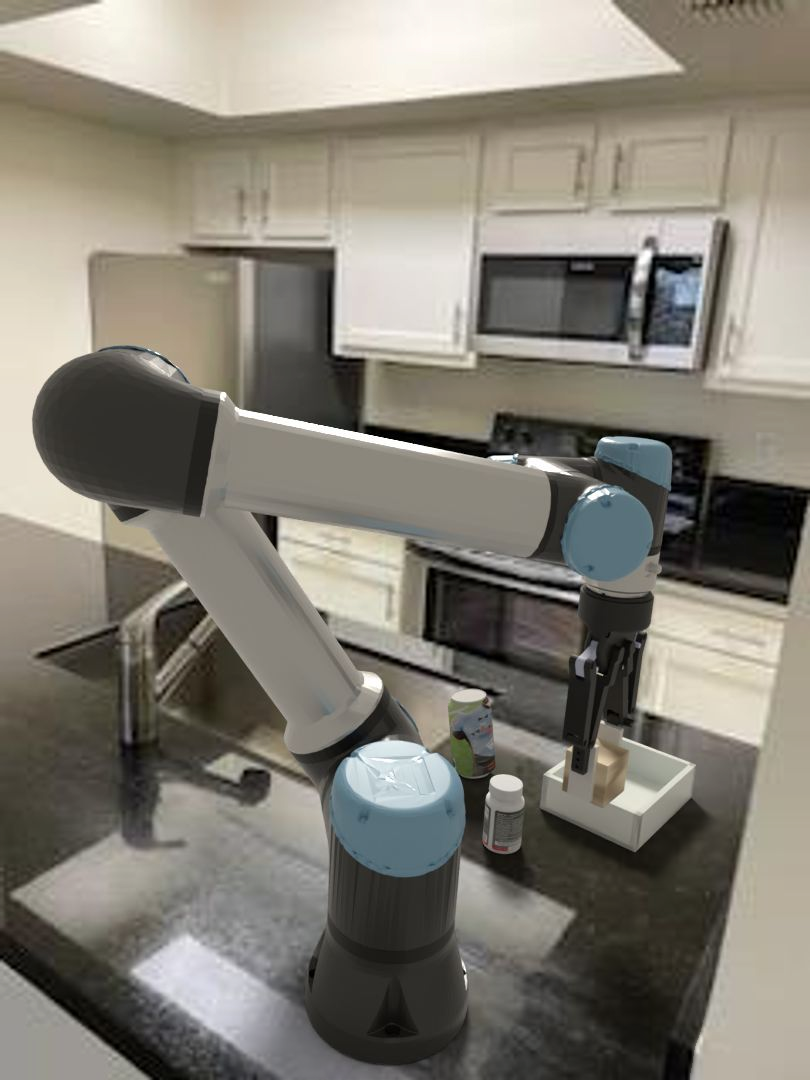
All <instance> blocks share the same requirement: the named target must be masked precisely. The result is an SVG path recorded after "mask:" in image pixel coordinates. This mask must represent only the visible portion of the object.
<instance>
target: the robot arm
mask: <svg viewBox="0 0 810 1080" xmlns="http://www.w3.org/2000/svg"><path fill="white" fill-rule="evenodd" d="M31 424H32V425H31V426H32V427H31V429H32V436H33V440H34V444H35V447H36V451H37V452H38V454H39V456H40V459H41V461H42V463H43V465H44V466H45V468H46V469H48V471H49V473H50V474H52V476H54V477H55V478H56V480H58V482H59V483H61V484H62V485H63V486H64V487H66V488H68V489H69V490H71V491H72V492H74V493H76V494H78V495H79V496H80V495H81V496H82V497H84V498H87V499H90V500H92V501H96V502H100V503H105V504H106V505H107V506H108V507H109V508H110V511H112V513H113V514H114V515H115V517H116V518H117V519H118V521H119V523H121V524H122V525H124V526H130V527H135V528H141V529H144V530H146V531H147V532H149V534H150V535H151V536H152V538H153V539H154V540H155V542H156V543H157V545H158V546H159V547H160V548H161V551H163V552H164V554H165V555H166V557H167V558H168V560H169V561H170V562H171V564H172V565H173V567H174V568H175V570H177V572H178V573H179V574H180V576H181V578H182V579H183V580H184V582H185V583H186V584H187V586H188V587H189V588H190V590H191V591H192V592H193V594H194V596H195V597H196V598H197V599H198V601H199V603H201V605H202V606H203V608H204V609H205V610H206V612H207V613H208V614H209V616H210V617H211V619H212V620H213V621H214V623H215V625H216V626H217V627H218V629H220V631H221V632H222V634H223V635H224V637H225V638H226V639H227V640H228V642H229V643H230V645H231V646H232V647H233V649H234V650H235V652H236V653H237V655H238V656H239V657H240V658H241V660H242V661H243V663H244V664H245V665H246V667H247V668H248V670H250V671H249V672H251V673H252V675H253V677H254V678H255V679H256V680H257V682H258V683H259V685H260V686H261V687H262V689H263V690H264V692H265V693H266V695H267V697H269V699H271V701H272V703H273V704H274V705H275V707H277V709H278V711H279V712H280V714H281V715H282V716H283V717H284V719H285V720H286V727H285V729H284V730H285V731H284V734H283V735H284V736H283V742H284V745H285V746H286V748H287V749H288V750H289V752H290V754H292V756H293V757H294V760H295V761H296V762H297V763H298V765H299V766H300V768H301V769H302V770H303V772H304V773H305V774H306V775H307V777H308V778H309V779H310V781H311V782H312V784H313V786H314V787H315V789H316V790H317V792H318V795H319V801H320V805H321V812H322V816H323V822H324V828H325V833H326V839H327V845H328V846H327V847H328V887H327V911H326V912H327V914H326V916H327V917H326V921H325V925H324V927H323V929H322V932H321V934H320V937H319V939H318V941H317V944H316V946H315V948H314V951H313V952H312V953H313V954H312V956H311V958H310V961H309V962H308V966H307V971H306V976H305V994H304V996H305V998H304V999H305V1000H304V1001H305V1002H304V1003H305V1009H306V1013H307V1016H308V1018H309V1021H310V1023H311V1025H312V1027H313V1028H314V1030H315V1032H316V1033H317V1034H318V1035H319V1037H321V1038H322V1040H324V1041H325V1042H326V1043H327V1044H328V1045H329V1046H330V1047H332V1048H334V1050H336V1051H338V1052H340V1053H341V1054H344V1055H345V1056H348V1057H350V1058H353V1059H355V1060H358V1061H362V1062H365V1063H371V1064H376V1065H377V1064H378V1065H400V1064H401V1065H402V1064H409V1063H412V1062H417V1061H420V1060H424V1059H426V1058H428V1057H430V1056H432V1055H434V1054H435V1053H438V1052H439V1051H441V1050H442V1049H444V1048H445V1047H446V1046H448V1045H449V1043H451V1042H452V1041H453V1040H454V1039H455V1037H456V1036H457V1035H458V1033H459V1032H460V1030H461V1028H462V1026H463V1025H464V1022H465V1019H466V1017H467V1013H468V1012H467V1011H468V1010H467V1009H468V1001H469V989H470V988H469V977H468V973H467V969H466V966H465V962H464V960H463V958H462V956H461V953H460V949H459V947H460V946H459V943H458V937H457V934H456V930H455V927H456V925H455V924H456V913H457V912H456V911H457V904H458V903H457V902H458V901H457V900H458V892H459V891H458V890H459V879H460V878H459V877H460V868H461V856H462V855H461V854H462V845H463V835H465V834H464V832H465V827H466V813H467V811H466V804H465V793H464V786H463V783H462V780H461V777H460V776H459V775H460V774H458V773H457V772H456V770H455V769H454V767H453V764H451V763H450V761H449V760H447V759H446V758H445V757H444V756H442V755H441V754H439V753H438V752H433V753H431V752H430V750H429V747H426V746H425V745H424V743H423V740H422V738H421V735H420V733H419V729H418V726H417V723H416V721H415V719H414V717H413V716H412V715H411V714H410V713H411V712H409V711H408V709H407V708H406V707H405V706H403V705H402V703H401V702H400V701H399V700H397V699H396V698H395V697H394V696H393V695H392V693H391V692H390V691H389V690H390V689H388V687H387V686H386V684H385V683H384V682H383V680H382V678H381V677H379V675H378V674H376V673H374V672H372V671H366V670H365V671H363V670H358V669H357V668H356V667H355V665H354V663H353V662H352V661H351V659H350V657H349V656H348V655H347V653H346V652H345V650H344V649H343V647H342V645H341V644H340V643H339V642H338V639H337V638H336V637H335V634H333V633H332V631H331V630H330V627H328V625H327V624H326V622H325V621H324V619H323V618H322V616H321V615H320V613H319V612H318V610H317V608H316V607H315V606H314V604H313V602H311V600H310V598H309V597H308V595H307V594H306V593H305V591H304V590H303V588H302V587H301V585H300V584H299V581H298V580H297V579H296V578H295V576H294V575H293V573H292V572H291V570H290V569H289V567H288V565H287V564H286V563H285V562H284V560H283V558H282V556H280V553H278V550H277V549H276V548H275V546H274V545H273V543H272V542H271V540H270V539H269V537H268V536H267V534H266V533H265V531H264V530H263V528H262V527H261V526H260V524H259V523H258V521H257V520H256V518H255V517H254V516H253V514H252V513H255V514H261V515H267V516H268V515H269V516H272V517H280V518H286V519H289V520H290V519H291V520H295V521H296V520H298V521H303V522H309V523H316V524H320V525H326V526H332V527H333V526H334V527H338V528H339V527H340V528H346V529H349V530H350V529H351V530H358V531H363V532H368V533H369V532H370V533H375V534H382V535H386V536H393V537H399V538H405V539H411V540H419V541H423V542H430V543H435V544H440V545H447V546H453V547H461V548H465V549H470V550H471V549H472V550H477V551H482V552H483V551H485V552H489V553H495V554H500V555H501V554H503V555H507V556H512V557H513V556H514V557H519V558H526V559H530V560H534V561H540V562H545V563H550V564H557V565H562V566H567V567H568V568H569V569H570V570H572V571H573V572H575V573H576V574H577V575H578V576H581V579H582V581H583V582H584V583H583V584H582V585H581V586H580V590H579V591H580V592H579V600H578V609H577V616H578V619H579V620H580V621H581V622H582V623H584V624H585V625H586V627H587V628H588V632H587V634H586V635H587V636H586V639H585V642H584V648H583V652H582V653H581V654H580V655H578V654H575V653H572V654H571V655H570V656H569V658H568V670H569V679H568V687H567V689H568V690H567V694H566V706H565V711H564V719H563V720H564V721H563V727H562V728H563V729H562V737H561V740H562V741H563V742H565V743H568V744H570V745H573V747H572V755H571V763H570V772H569V780H568V788H567V793H568V794H570V795H573V796H575V797H577V798H579V799H582V800H584V801H586V802H588V803H589V802H591V801H592V799H593V791H594V783H595V775H596V767H597V761H598V753H599V745H597V744H595V743H596V739H597V738H599V739H601V740H604V741H607V742H609V743H612V744H614V745H617V746H620V747H621V745H622V737H624V729H625V728H628V729H631V728H632V727H633V725H634V723H635V720H634V719H632V718H629V716H633V715H634V714H635V713H636V707H637V700H638V693H639V686H640V685H639V684H640V676H641V670H642V663H643V657H644V655H643V654H644V650H645V647H646V643H647V639H648V632H646V631H645V630H647V629H648V628H649V627H650V626H651V622H652V617H653V616H652V615H653V608H654V603H655V602H654V600H655V596H654V594H653V592H652V591H653V590H654V589H655V588H656V585H657V584H656V583H657V577H658V576H657V575H659V574H660V573H661V572H662V570H663V568H662V565H661V564H660V563H659V561H660V555H661V547H662V543H663V535H664V528H665V522H666V521H665V520H666V515H667V509H668V507H667V506H668V501H669V494H670V492H671V491H672V485H671V483H672V471H673V464H672V462H673V454H672V453H673V451H672V450H671V448H670V446H669V445H667V444H666V443H664V442H662V441H660V440H656V439H655V440H654V439H649V438H644V437H643V438H642V437H633V436H619V435H618V436H605V437H604V436H603V437H602V438H601V439H600V440H599V441H598V442H597V445H596V449H595V451H594V455H593V456H587V457H564V456H563V457H561V456H542V455H541V456H539V455H522V454H521V455H520V454H519V453H514V454H513V455H491V456H488V457H486V458H484V457H479V456H475V455H469V454H464V453H461V452H459V453H458V452H454V451H450V450H444V449H439V448H434V447H429V446H424V445H419V444H415V443H414V444H413V443H410V442H405V441H399V440H394V439H389V438H384V437H379V436H374V435H369V434H366V433H365V434H364V433H360V432H355V431H350V430H344V429H339V428H334V427H330V426H324V425H320V424H319V425H318V424H315V423H308V422H305V421H300V420H295V419H289V418H285V417H280V416H273V415H270V414H265V413H259V412H254V411H250V410H245V409H240V408H238V407H237V406H236V404H235V403H234V402H233V401H232V399H231V398H230V397H229V396H228V394H227V392H224V391H221V390H215V389H210V388H204V387H200V386H197V385H193V384H191V381H190V380H189V379H188V377H187V376H186V375H185V373H184V372H183V371H182V370H181V368H180V367H178V366H177V365H175V364H174V363H173V362H172V361H171V359H168V358H166V357H165V356H163V355H162V354H160V353H159V352H156V351H153V350H151V349H148V348H147V347H146V348H145V347H142V346H137V345H128V344H122V345H111V346H107V347H102V348H100V349H98V350H97V351H94V352H91V353H87V354H83V355H80V356H77V357H75V358H73V359H71V360H69V361H67V362H65V363H64V364H62V365H61V366H60V367H58V368H57V369H56V370H54V372H53V373H52V374H51V375H49V377H48V378H47V379H46V381H44V383H43V384H42V387H41V389H40V390H39V392H38V394H37V396H36V399H35V403H34V406H33V409H32V416H31ZM602 718H603V719H602ZM604 720H606V721H604ZM624 727H625V728H624Z"/></svg>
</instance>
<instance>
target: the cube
mask: <svg viewBox="0 0 810 1080" xmlns="http://www.w3.org/2000/svg"><path fill="white" fill-rule="evenodd" d="M595 744H597V745H599V753H598V761H597V767H596V775H595V783H594V791H593V799H592V801H591V802H589V803H592V804H594V805H596V806H598V807H601V808H604V807H605V806H606V805H608V804H609V803H610V802H611V801H612V800H614V799H615V798H616V797H617V796H618V795H620V794H621V793H622V792H623V791H624V787H625V780H626V772H627V765H628V757H629V750H627V749H625V748H622V747H620V746H617V745H614V744H612V743H609V742H607V741H604V740H601V739H599V738H597V739H596V743H595ZM572 747H573V744H571V746H570V747H568V748H567V749H566V752H565V759H564V760H565V767H564V776H563V785H562V791H564V792H567V788H568V780H569V772H570V763H571V755H572Z"/></svg>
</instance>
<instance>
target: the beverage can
mask: <svg viewBox="0 0 810 1080" xmlns="http://www.w3.org/2000/svg"><path fill="white" fill-rule="evenodd" d="M450 697H451V698H450V700H449V702H448V704H447V711H448V725H449V734H450V735H449V736H450V747H451V760H452V761H451V762H452V766H453V767H454V769H455V770H456V772H457V773H458V775H460V776H461V777H463V778H465V779H474V780H475V779H481V778H485V777H486V776H488V775H489V774H490V773H492V772H493V771H494V770H495V769H496V753H495V741H494V740H495V739H494V738H495V737H494V728H493V727H494V725H493V713H492V711H493V710H492V703H491V700H490V699H489V697H488V696H487V693H486V691H484V690H482V689H478V688H465V689H463V688H462V689H459V690H456V691H454V692H453V693H452V694H451V696H450Z"/></svg>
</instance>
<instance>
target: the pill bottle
mask: <svg viewBox="0 0 810 1080" xmlns="http://www.w3.org/2000/svg"><path fill="white" fill-rule="evenodd" d="M488 790H489V791H488V793H486V796H485V801H484V802H485V803H484V804H485V805H484V816H483V817H484V818H483V827H482V828H483V829H482V843H483V845H484V847H486V849H488V850H489V851H491V852H493V853H496V854H500V855H509V854H513V853H515V852H517V851H518V850H519V849H520V848H521V845H522V837H523V836H522V835H523V826H524V825H523V824H524V817H525V815H524V814H525V805H526V803H525V802H526V801H525V798H524V796H523V790H524V784H523V781H522V780H521V779H520V778H519V777H517V776H514V775H510V774H503V773H502V774H496V775H494V776H492V777H491V778H490V780H489V786H488Z"/></svg>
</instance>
